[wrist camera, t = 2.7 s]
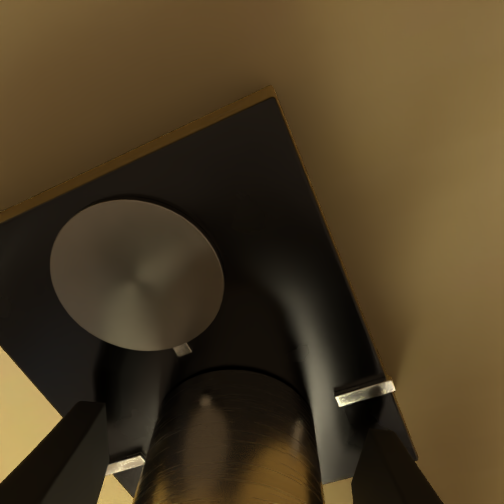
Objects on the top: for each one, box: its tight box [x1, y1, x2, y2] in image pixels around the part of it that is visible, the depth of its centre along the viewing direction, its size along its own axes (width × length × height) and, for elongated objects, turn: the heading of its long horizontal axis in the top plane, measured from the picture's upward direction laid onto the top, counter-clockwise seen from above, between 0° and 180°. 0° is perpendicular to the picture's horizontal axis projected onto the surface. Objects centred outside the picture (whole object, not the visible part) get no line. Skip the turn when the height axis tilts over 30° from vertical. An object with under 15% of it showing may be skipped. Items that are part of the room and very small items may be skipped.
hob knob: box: [132, 369, 325, 504], centre depth 9 cm, size 4×4×4 cm
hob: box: [0, 85, 418, 498], centre depth 11 cm, size 11×8×3 cm
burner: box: [50, 197, 225, 351], centre depth 9 cm, size 4×4×1 cm
